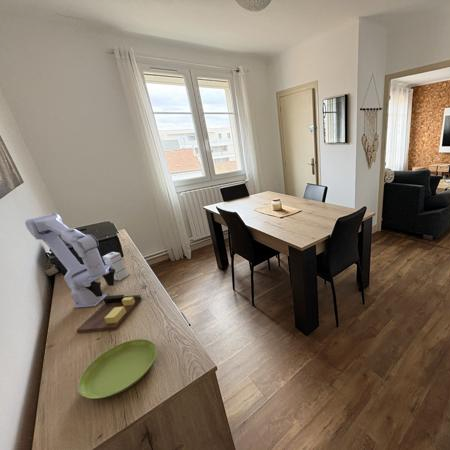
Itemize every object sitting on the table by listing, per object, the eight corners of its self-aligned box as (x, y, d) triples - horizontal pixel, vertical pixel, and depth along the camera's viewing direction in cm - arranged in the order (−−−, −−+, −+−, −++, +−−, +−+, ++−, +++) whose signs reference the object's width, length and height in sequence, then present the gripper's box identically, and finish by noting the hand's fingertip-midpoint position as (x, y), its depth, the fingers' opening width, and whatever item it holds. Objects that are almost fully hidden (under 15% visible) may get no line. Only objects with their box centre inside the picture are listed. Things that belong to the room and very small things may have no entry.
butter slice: (123, 305, 107) (121, 300, 106) (126, 302, 109) (124, 297, 107) (132, 305, 107) (130, 299, 106) (135, 302, 109) (133, 296, 108)
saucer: (89, 422, 64) (85, 414, 63) (76, 376, 77) (72, 369, 76) (168, 366, 79) (166, 359, 78) (146, 336, 92) (143, 329, 90)
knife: (105, 303, 109) (102, 299, 108) (108, 300, 111) (106, 295, 110) (140, 300, 109) (138, 296, 108) (143, 297, 111) (141, 293, 110)
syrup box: (129, 275, 134) (120, 252, 128) (118, 281, 129) (109, 257, 123) (122, 273, 136) (113, 251, 130) (111, 279, 130) (101, 256, 125)
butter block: (106, 323, 97) (104, 318, 96) (117, 312, 103) (114, 307, 102) (116, 322, 97) (114, 317, 96) (126, 312, 103) (124, 306, 102)
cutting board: (77, 332, 95) (76, 329, 95) (108, 302, 112) (107, 300, 111) (116, 329, 96) (114, 326, 95) (141, 299, 112) (140, 297, 112)
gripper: (91, 272, 93) (103, 300, 98) (115, 254, 107) (125, 280, 112) (72, 274, 93) (85, 302, 98) (98, 255, 106) (109, 281, 111)
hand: (105, 290), depth 105 cm, fingers open, 7 cm apart
